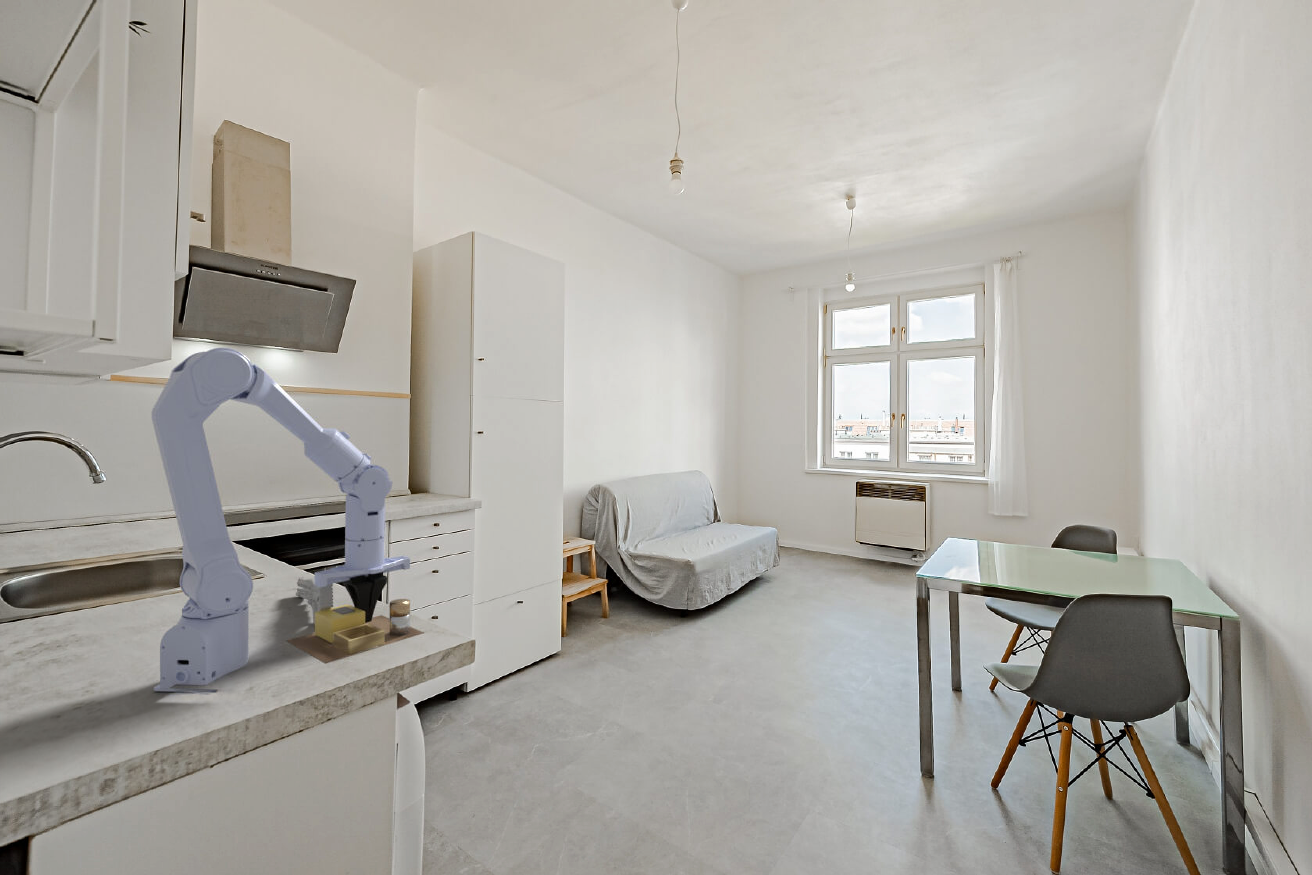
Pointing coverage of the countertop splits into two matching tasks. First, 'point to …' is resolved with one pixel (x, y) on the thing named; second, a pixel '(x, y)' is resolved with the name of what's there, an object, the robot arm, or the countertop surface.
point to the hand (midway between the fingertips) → (364, 620)
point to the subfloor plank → (350, 640)
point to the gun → (315, 595)
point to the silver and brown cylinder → (399, 617)
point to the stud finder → (337, 620)
